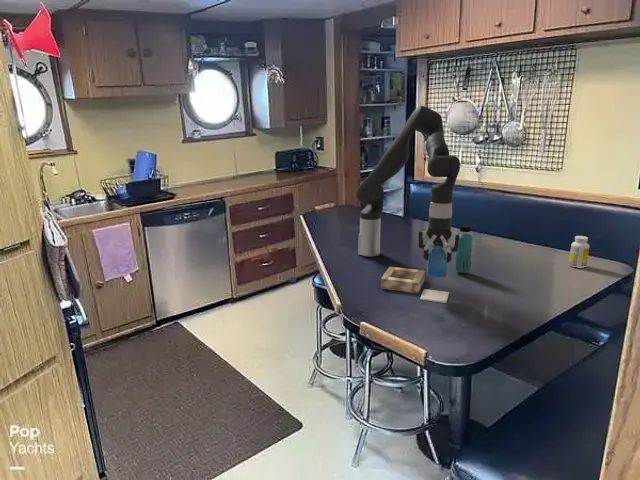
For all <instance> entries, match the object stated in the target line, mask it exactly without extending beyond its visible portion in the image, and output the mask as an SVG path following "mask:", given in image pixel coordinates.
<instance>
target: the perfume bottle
mask: <svg viewBox="0 0 640 480" xmlns="http://www.w3.org/2000/svg"><path fill="white" fill-rule="evenodd" d="M441 243H442V242H435V244H434V243H432V244H433V245H432V248H431V249H430V251H429V253H428V260H427V266H426V267H427V269H426V270H427V271H426V272H427V277H430V278H431V277H432V278H434V277H435V278H447V269H448V268H447V265H448V263H447V253H446V251H445V249H444V244H441Z"/></svg>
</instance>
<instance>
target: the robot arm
mask: <svg viewBox="0 0 640 480" xmlns="http://www.w3.org/2000/svg"><path fill="white" fill-rule="evenodd" d="M443 123H444V122H443V118H442V116H441V114H440V113H438V112H437V111H435V110H433V109H430V108H429V107H427V106H424V105H419V106H417V107H416V108H415V109H414V110H413V111H412V113H411V114H410V116H409V118H408V119H407V121H406V123H405V124H404V125H403V128H402V129H401V131H400V133H399V134H398V136H397V137H396V138H395V140H394V141H393V142H392V144H391V145H390V146H389V148H388V149H387V150H386V151H385V152H384V154H383V156H382V157H381V159H380V160H379V162H378V163H377V164H376V165H375V167H374V168H373V169H372V171H371V172H370V173H369V175H368V176H367V177H366V178H364V180H363V181H361V183H360V185H359V186H357V189H356V199H357V201H358V202H359V203H361V204H363V205H365V207H364V208H363V209H362V210H361V211H360V212H359V217H360V218H359V234H358V246H357V248H358V251H357V252H358V255H360V256H364V257H368V258H369V257H370V258H371V257H377V256H379V255H380V250H381V247H380V246H381V220H382V219H381V217H382V216H381V215H382V213H383V210H384V199H385V198H384V195H385V192H384V187H383V184H384V183H386V182H387V181H389V180H390V179H392V178H393V177H394V176H395V175H396V174H398V173H399V172H400V171H401V170H402V168H403V167H404V166H405V164H406V163H407V162H408V160H409V158H410V139H411V137H412V136H413V134H414V132H415V131H417V132H418V133H420V134H423V135H426V136H428V138H427V139H426V142H425V150H426V153H427V157H428V162H427V165H426V170H427V174H428V175H429V176H430V177H432V178H446V179H445V180H444V181H442V182H440V183H436V184H433V185H432V186H431V189H430V190H431V191H430V203H429V210H428V211H429V212H428V227H427V230H422V229H420V230H419V232H418V248H419V249H423V259H424V260H425V261H428V254H429V252H430V251H429V248H430V246H431V245H432V244H435V242H442V243H441V244H443V246H444V247H445V248H446V250H447V253H446V257H447V264H449V263H450V262H451V261H452V256H453V253H455V252H456V251H457V249H458V244H459V238H460V233H459V232H457V233H453V232H452V219H453V218H452V217H453V194H454V193H453V192H454V188H455V184H456V182H457V178H458V176H459V174H460V171H461V170H460V169H461V161H460V158H459V157H458V156H456V155H450V149H449V147H448V144H447V143H446V140H445V134H444V133H445V132H444V125H443ZM426 236H427V237H428V239H429V240H428V241H427V243H426V244H424V238H425V237H426ZM451 237H452V239H453V241H454V244H453V246H452V245H451V242H450V241H449V240H450V239H451Z"/></svg>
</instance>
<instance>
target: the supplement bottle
mask: <svg viewBox="0 0 640 480" xmlns="http://www.w3.org/2000/svg"><path fill="white" fill-rule="evenodd" d="M588 240H589V237H587V236H583V235H576V236H574V241H573V242H572V243H571V246H570V251H569V260H568V265H569V264H570V265H572V266H586V265H587V264H588V260H589V259H588V258H589V252H590V244H589V243H588ZM586 267H587V266H586Z"/></svg>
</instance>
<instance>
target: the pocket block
mask: <svg viewBox="0 0 640 480" xmlns="http://www.w3.org/2000/svg"><path fill="white" fill-rule="evenodd" d="M382 275H383V276H382V277H381V278H380V279H381V280H380V289H383V290H393V291H398V292H405V293H413V294H419V293H420V291H421V289H422V286H423V284H424V283H425V280H426V279H425V275H426V271H425V270H423V269H422V270H421V269H416V268H415V269H414V268H406V267H397V266H396V267H395V266H389V267H388V268H387V270H386V271H385V272H384V273H383V274H382Z"/></svg>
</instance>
